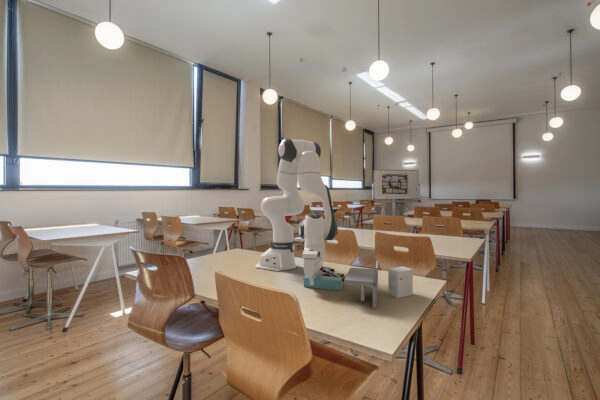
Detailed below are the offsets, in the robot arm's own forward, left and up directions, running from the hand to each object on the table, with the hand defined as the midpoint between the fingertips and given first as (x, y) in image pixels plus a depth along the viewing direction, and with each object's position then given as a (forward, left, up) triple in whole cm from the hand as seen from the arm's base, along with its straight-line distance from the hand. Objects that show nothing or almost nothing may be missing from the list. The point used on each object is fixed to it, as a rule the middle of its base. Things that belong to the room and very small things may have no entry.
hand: (314, 281), depth 131 cm
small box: (+36, -1, -2) cm, 36 cm away
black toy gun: (+4, +19, -3) cm, 19 cm away
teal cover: (+4, 0, -2) cm, 4 cm away
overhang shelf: (+21, -10, -2) cm, 24 cm away
